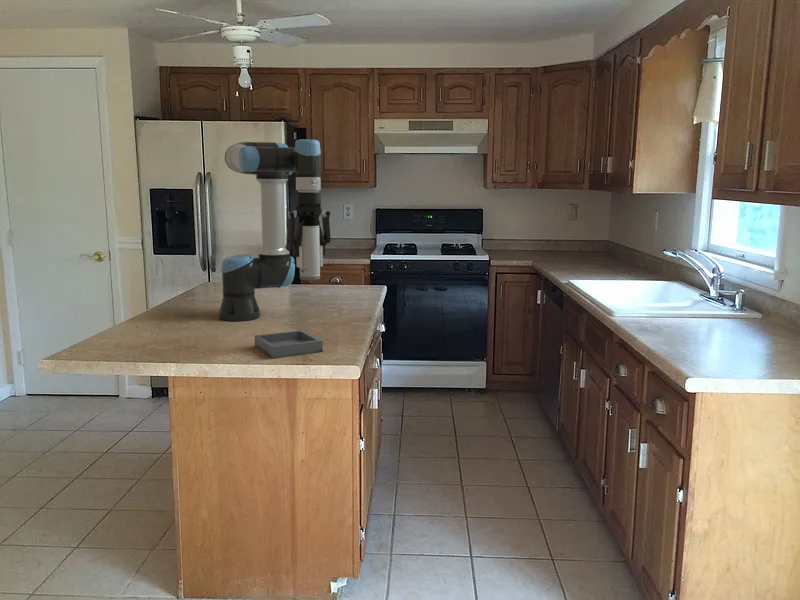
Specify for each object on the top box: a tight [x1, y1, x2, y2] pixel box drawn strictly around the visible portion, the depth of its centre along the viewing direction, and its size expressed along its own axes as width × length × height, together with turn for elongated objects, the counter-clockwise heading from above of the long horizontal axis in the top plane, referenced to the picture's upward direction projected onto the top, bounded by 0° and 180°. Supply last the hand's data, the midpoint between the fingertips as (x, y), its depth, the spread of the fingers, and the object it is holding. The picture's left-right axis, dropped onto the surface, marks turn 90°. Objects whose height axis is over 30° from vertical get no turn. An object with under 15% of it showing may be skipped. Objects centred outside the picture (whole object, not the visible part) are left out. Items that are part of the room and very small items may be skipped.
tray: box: [254, 329, 324, 360], centre depth 202 cm, size 16×16×4 cm
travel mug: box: [298, 215, 321, 281], centre depth 203 cm, size 6×7×20 cm
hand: (309, 266), depth 204 cm, fingers closed on travel mug, 6 cm apart
